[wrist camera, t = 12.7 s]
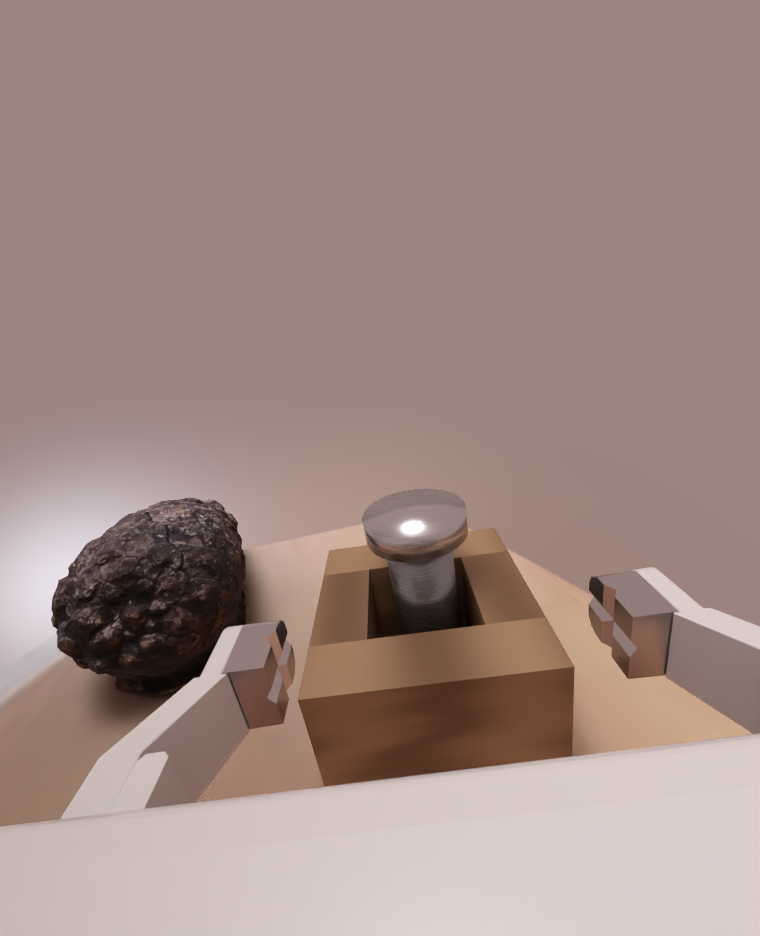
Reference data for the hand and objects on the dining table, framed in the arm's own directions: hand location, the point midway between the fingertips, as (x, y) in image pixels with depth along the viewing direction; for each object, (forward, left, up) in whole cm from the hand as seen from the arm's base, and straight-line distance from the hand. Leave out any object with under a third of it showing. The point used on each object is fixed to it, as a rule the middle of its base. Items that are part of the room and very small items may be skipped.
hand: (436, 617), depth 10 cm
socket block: (0, +7, -11) cm, 13 cm away
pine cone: (-18, +16, -11) cm, 26 cm away
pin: (0, +8, -11) cm, 13 cm away
